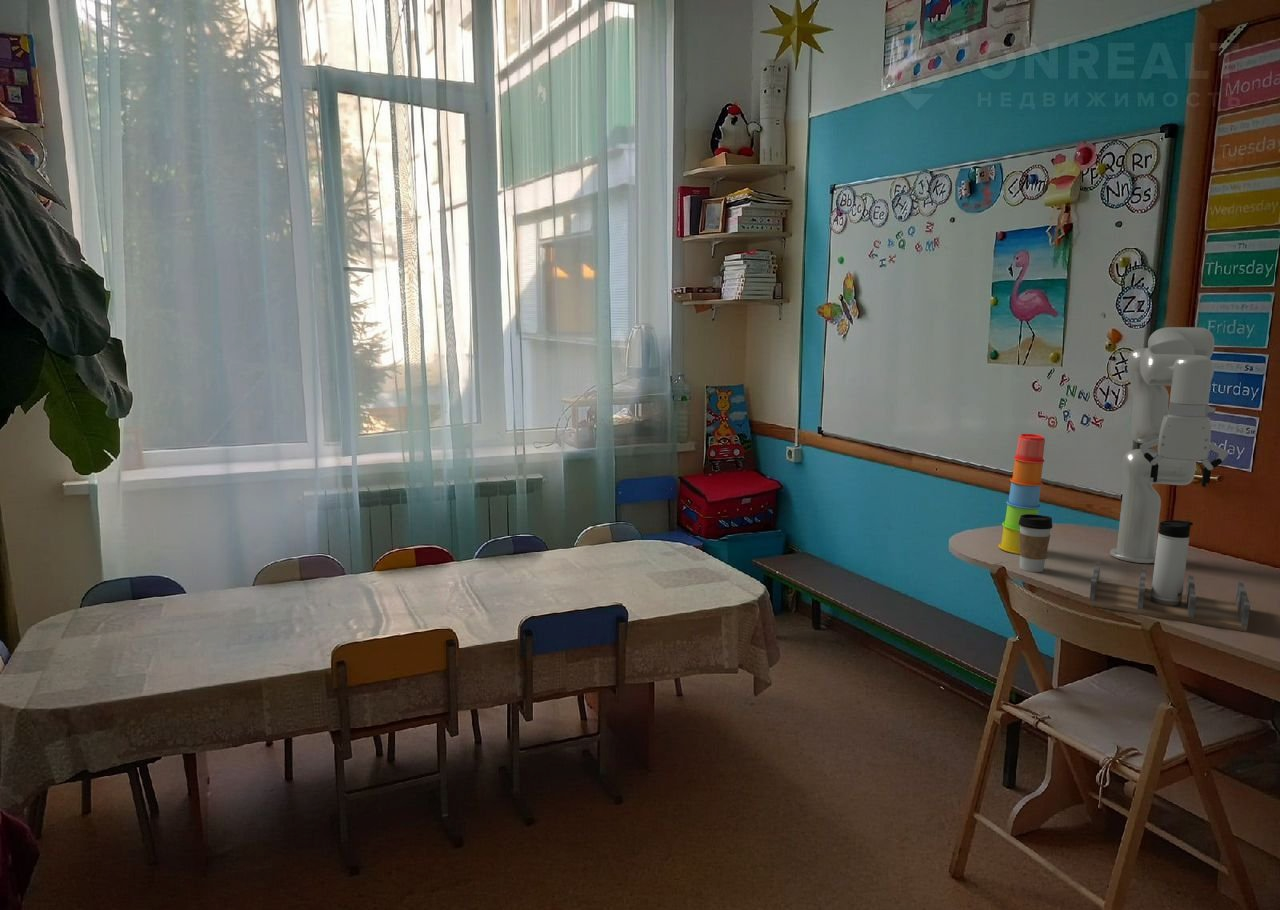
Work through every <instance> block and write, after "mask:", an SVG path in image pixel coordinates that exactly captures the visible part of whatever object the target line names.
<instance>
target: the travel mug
mask: <svg viewBox="0 0 1280 910" xmlns="http://www.w3.org/2000/svg"><path fill="white" fill-rule="evenodd" d="M1191 526H1193V522H1191V521H1190V520H1179V519H1178V520H1177V519H1176V520H1174V519H1171V520H1170V519H1169V520H1163V521H1161V522H1160V521H1159V526H1158V532H1157V541H1156V549H1155V553H1156V557H1155V563H1154V567H1153V575H1152V583H1151V589H1152V590H1151V592H1152V593H1151V600H1152V601H1153V602H1156V603H1158V604H1162V605H1168V606H1178V605H1180V604H1181V600H1182V598H1181V597H1182V594H1184V593H1183V591H1184V584H1185V574H1186V569H1187V560H1188V559H1187V558H1188V551H1189V545H1190V535H1191V534H1190V532H1191Z"/></svg>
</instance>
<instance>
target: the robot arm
mask: <svg viewBox="0 0 1280 910" xmlns="http://www.w3.org/2000/svg"><path fill="white" fill-rule="evenodd" d="M1147 340H1148V341H1147V347H1144V348H1143V347H1141V348H1137V349H1135V350H1132V351H1131V352H1130V353H1129V355H1128V358H1127V375H1128V379H1129V382H1130V386H1131V390H1132V393H1133V401H1132V412H1131V413H1132V414H1131V425H1130V429H1131V430H1130V432H1131V433H1130V434H1131V437H1132V438H1131V439H1132V440H1133V441H1134V442H1136V443H1138V444H1140V445H1139V448H1135V449H1131V450H1128V451H1127V452H1126V453H1125V454H1124V455H1123V457H1122V464H1121V465H1122V467H1121V469H1122V485H1123V486H1122V497H1121V504H1120V505H1121V507H1120V514H1119V515H1120V517H1119V524H1118V534H1117V535H1118V536H1117V544H1116V547H1113V548H1111V549H1110V551H1109V552H1110V553H1109V554H1110V555H1111V556H1112V557H1114V558H1116V559H1119V560H1121V561H1126V562H1131V563H1137V564H1138V563H1139V564H1155V557H1156V548H1157V540H1158V532H1159V525H1160V515H1161V514H1160V512H1161V505H1162V499H1161V496H1160V494H1159V493H1158V492H1157V490H1156V489H1155V488H1154V487H1153V485H1154V484H1155V485H1157V484H1158V485H1160V484H1161V485H1170V486H1171V485H1173V486H1186V485H1189V484H1191V483H1192V482H1193V481H1194V478H1195V475H1196V466H1197V462H1201V463H1202V465H1204V468H1203V470H1202V478H1201V487H1203V488H1206V487H1207V484H1211V483H1210V482H1211V475H1212V470H1214V469H1215V468H1216V467H1218V466H1219V465H1221V464H1222V463H1223V462H1224V460H1225V459H1226V458H1227V456H1228V455H1229V452H1228V451H1227V450H1225V449H1223V448H1222V447H1220V446H1218V445H1216V444H1215V443H1212V442H1211V435H1212V433H1211V430H1212V424H1211V422H1212V421H1211V418H1210V417H1208V415H1210V414H1215V413H1216V407H1212V406H1210V405H1209V400H1210V392H1211V384H1212V379H1213V377H1214V373H1215V364H1214V362H1213V360H1211V357H1212V356H1213V354H1214V350H1215V338H1214V335H1213V333H1212V332H1211V331H1210V330H1209V329H1207V328H1204V327H1193V326H1189V327H1188V326H1185V327H1184V326H1183V327H1180V326H1176V327H1175V326H1174V327H1173V326H1168V327H1167V326H1166V327H1161V328H1159V329H1156V330H1155V331H1154V332H1152V333H1151V335H1150V336H1149V337H1148V339H1147ZM1166 387H1170V395H1169V392H1168V390H1167V388H1166ZM1156 446H1157V448H1156V449H1153V447H1156ZM1151 448H1152V449H1151ZM1210 451H1212V452H1215V453H1216V454H1218V456H1217V457H1216V458H1215V459H1213V460H1212V461H1210V460H1209V456H1210Z"/></svg>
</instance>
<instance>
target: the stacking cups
mask: <svg viewBox="0 0 1280 910" xmlns="http://www.w3.org/2000/svg"><path fill="white" fill-rule="evenodd" d="M1045 443H1046V440H1045V437H1044V436H1043V435H1040V434H1034V433H1021V434H1020V436H1018V440H1017V447H1016V453H1015V456H1013V459H1014V464H1013V470H1012V471H1013V473H1012V477H1011V478H1009V481H1010V482H1011V483H1010V489H1009V495H1008V500H1006V502H1005V503H1006V504H1007V506H1006V514H1005V520H1004V521H1003V522H1002V524H1001V525H1002V526H1003V527H1002V528H1003V530H1002V535H1001V542H1000V543H999V544H998V548H999V549H1001V551H1005V552H1007V553H1011V554H1017V555H1020V548H1019V531H1020V525H1019V520H1020V517H1021V515H1024V514H1034V515H1039V509H1040V508H1041V504H1040V496H1041V488H1042V485H1044V484H1043V482H1042V475H1043V474H1042V473H1043V465H1044V463H1045V459H1044V453H1045V445H1046V444H1045Z"/></svg>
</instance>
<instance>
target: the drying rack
mask: <svg viewBox="0 0 1280 910" xmlns="http://www.w3.org/2000/svg"><path fill="white" fill-rule="evenodd" d="M1101 564H1102V563H1101V562H1100V561H1099V562H1098V561H1096V562H1095V565H1094V569H1093V573H1092V578H1091V580H1090V581H1091V582H1090V592H1089V599H1088V600H1089V602H1088V606H1091V607H1097V608H1101V609H1109V610H1114V611H1119V612H1126V613H1132V614H1137V615H1144V616H1149V617H1155V618H1162V619H1168V620H1174V621H1180V622H1187V623H1191V624H1198V625H1204V626H1210V627H1216V628H1220V629H1221V628H1222V629H1227V630H1235V631H1240V632H1244V633H1245V632H1247V629H1248V624H1249V617H1250V611H1251V610H1250V609H1251V603H1250V600H1249V596H1248V593H1247V591H1246V588H1245V583H1244V582H1241V581H1238V582H1237V589H1236V595H1235V601H1232V600H1231V601H1230V600H1224V599H1219V598H1211V597H1206V596H1201V595H1200V596H1199V595H1197V593H1196V586H1195V585H1196V584H1195V578H1194V575H1191V574H1188V576H1187V585H1186V593H1182V597H1181V598H1182V600H1181V604H1180V605H1178V606H1168V605H1162V604H1158V603H1156V602H1153V601H1152V600H1151V593H1152V592H1151V590H1152V588H1147V587H1146V575H1147V573H1146V572H1147V571H1146V570H1147V568H1142V567H1141V568H1140V575H1139V584H1138V585H1139V586H1133V585H1128V584H1127V585H1126V584H1120V583H1114V582H1113V583H1112V582H1106V581H1102V580H1101V581H1100V574H1101V573H1100V571H1101Z"/></svg>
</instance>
